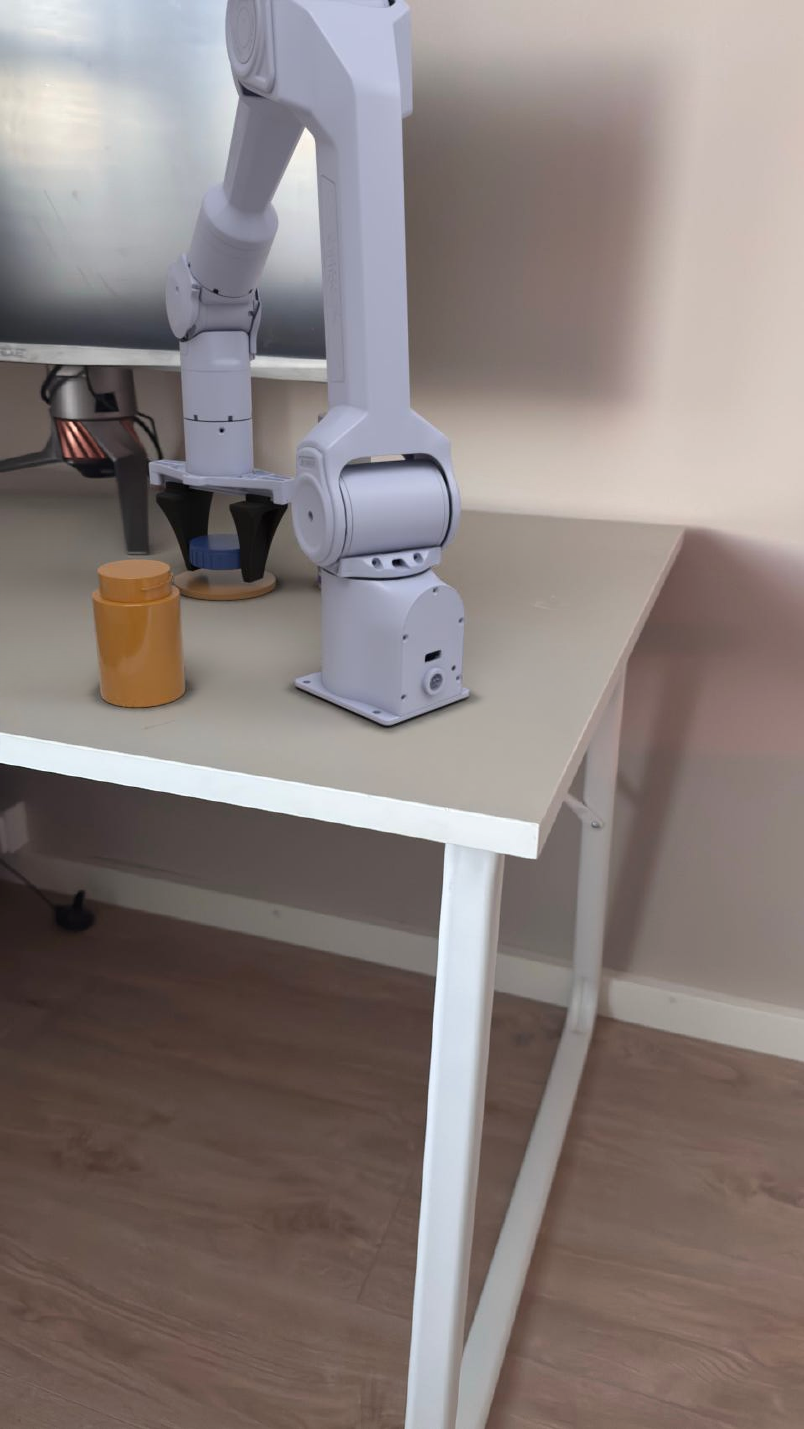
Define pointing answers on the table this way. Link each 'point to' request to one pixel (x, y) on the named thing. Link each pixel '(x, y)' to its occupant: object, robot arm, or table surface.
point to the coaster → (222, 584)
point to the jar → (138, 634)
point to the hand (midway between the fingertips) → (224, 574)
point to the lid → (215, 552)
